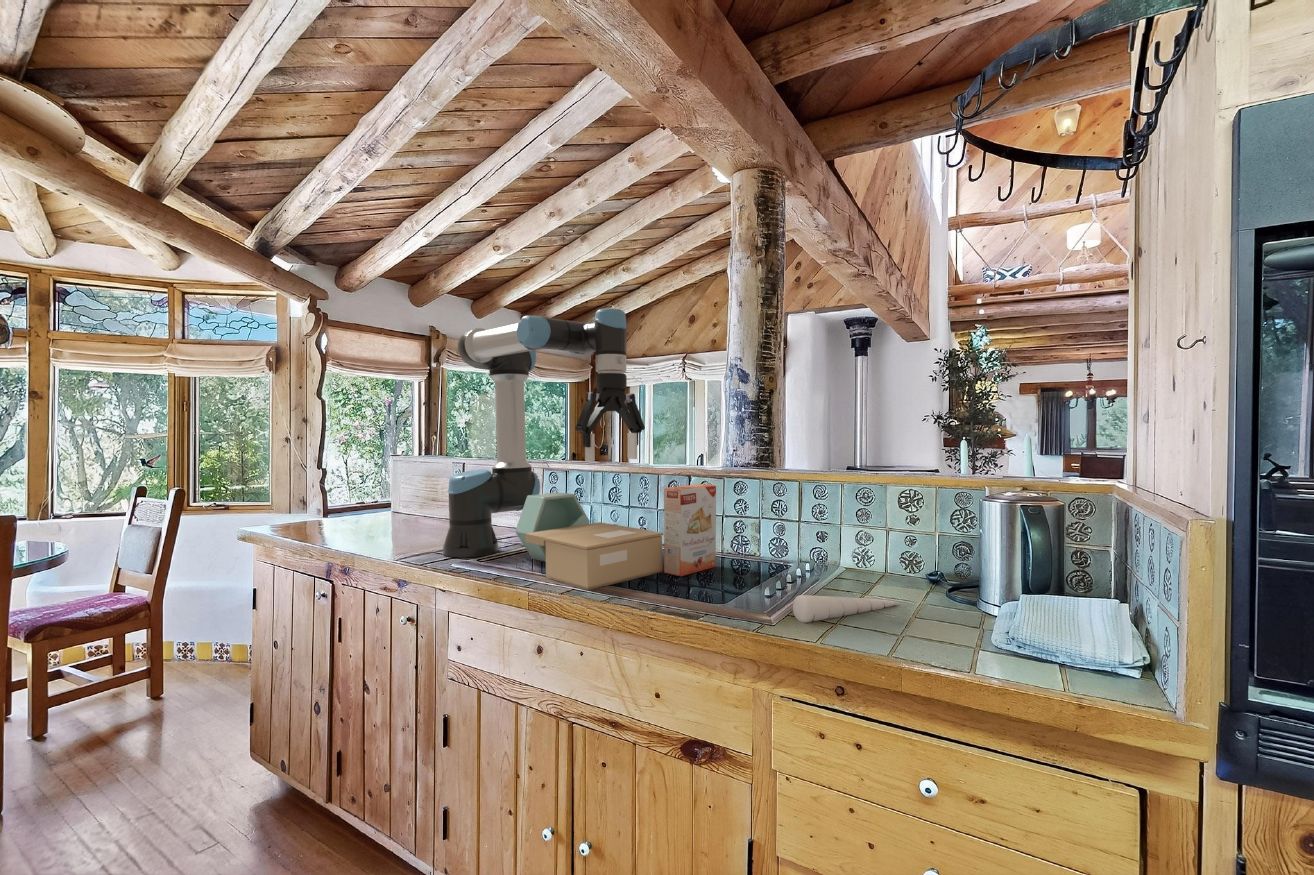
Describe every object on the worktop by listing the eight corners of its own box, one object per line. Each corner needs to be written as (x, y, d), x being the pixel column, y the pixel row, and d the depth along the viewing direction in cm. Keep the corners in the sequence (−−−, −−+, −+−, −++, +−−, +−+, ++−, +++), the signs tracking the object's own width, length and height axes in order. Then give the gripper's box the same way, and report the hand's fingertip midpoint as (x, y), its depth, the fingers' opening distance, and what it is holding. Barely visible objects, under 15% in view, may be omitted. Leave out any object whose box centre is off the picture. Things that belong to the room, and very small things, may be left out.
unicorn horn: (912, 611, 114) (912, 586, 114) (805, 626, 106) (805, 600, 106) (894, 604, 119) (894, 580, 119) (791, 618, 111) (791, 593, 111)
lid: (525, 541, 148) (525, 533, 148) (600, 529, 164) (599, 521, 164) (586, 556, 130) (586, 546, 130) (663, 540, 147) (663, 532, 147)
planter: (558, 577, 160) (521, 518, 152) (541, 573, 166) (504, 515, 157) (598, 535, 171) (565, 478, 162) (580, 532, 176) (548, 476, 167)
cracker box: (682, 577, 141) (681, 488, 140) (662, 573, 145) (662, 487, 145) (717, 567, 151) (717, 484, 151) (699, 563, 155) (698, 483, 155)
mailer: (546, 577, 142) (545, 540, 142) (619, 562, 158) (619, 528, 158) (587, 590, 131) (587, 550, 130) (662, 571, 147) (662, 536, 147)
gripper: (579, 369, 135) (580, 463, 136) (658, 375, 153) (658, 458, 153) (560, 371, 141) (560, 461, 141) (638, 376, 158) (638, 457, 159)
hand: (611, 460), depth 147 cm, fingers open, 13 cm apart
